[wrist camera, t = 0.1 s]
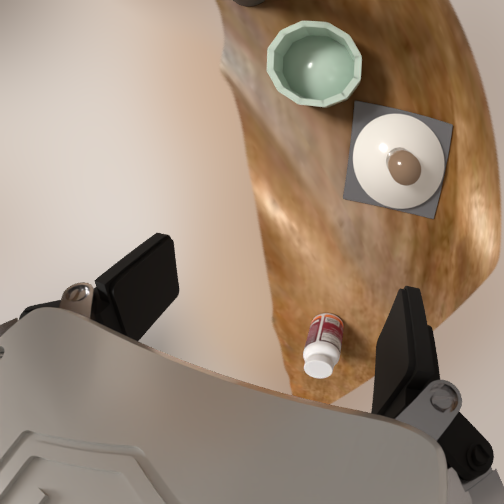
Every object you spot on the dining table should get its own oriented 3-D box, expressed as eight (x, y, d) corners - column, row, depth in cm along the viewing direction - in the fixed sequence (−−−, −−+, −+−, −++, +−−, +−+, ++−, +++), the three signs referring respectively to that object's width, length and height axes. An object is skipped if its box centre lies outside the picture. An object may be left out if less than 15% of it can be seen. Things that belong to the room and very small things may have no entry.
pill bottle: (317, 338, 53) (305, 382, 44) (307, 314, 51) (293, 359, 42) (347, 333, 50) (340, 379, 41) (339, 309, 48) (331, 355, 39)
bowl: (280, 30, 30) (268, 20, 25) (361, 37, 27) (362, 26, 22) (277, 102, 35) (265, 102, 31) (357, 112, 32) (358, 112, 28)
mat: (354, 100, 32) (354, 100, 31) (451, 124, 28) (452, 124, 28) (343, 197, 39) (342, 198, 39) (432, 218, 35) (433, 219, 35)
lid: (358, 104, 32) (358, 104, 27) (449, 127, 28) (462, 130, 24) (346, 196, 38) (345, 208, 34) (431, 215, 35) (440, 230, 30)
